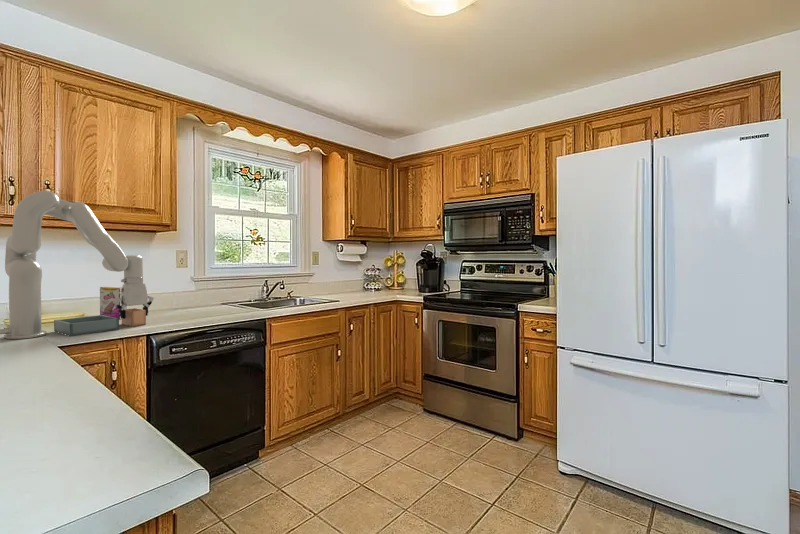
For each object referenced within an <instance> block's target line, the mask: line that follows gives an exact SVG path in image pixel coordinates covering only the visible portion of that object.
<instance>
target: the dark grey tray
mask: <svg viewBox="0 0 800 534" xmlns="http://www.w3.org/2000/svg"><path fill="white" fill-rule="evenodd" d="M53 325H54V327H53V332H54V331H55V332H54V333H57V332H59V333H58V334H60V333H63V334H62V335H64V334H66V335H65V336H67V335H69V336H68V337H75V336H76V337H77V336H82V334H83V335H89V334H97V333H98V334H99V333H104V332H105V333H106V332H110V331H111V332H112V331H119V330H120V320H119V318H114V317H109V316H105V315H100V314H98V315H91V316H80V317H72V318H62V319H61V318H60V319H54V320H53Z"/></svg>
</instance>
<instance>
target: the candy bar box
mask: <svg viewBox="0 0 800 534" xmlns="http://www.w3.org/2000/svg"><path fill="white" fill-rule="evenodd" d="M121 291H122V286H111V285H109V286H100V287H99V315H105V316H109V317H114V318H119V321H121V320H122V318H121V317H120V310H119V309H118V308H117V307H116V306H115V304H114V303H113V301H115V300H117V299H118V298H120V297H121ZM118 304H119V305H120V306H121V305H122V304H121V301H120V302H119V303H118ZM125 309H128V308H127V307H126V308H125Z"/></svg>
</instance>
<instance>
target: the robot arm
mask: <svg viewBox="0 0 800 534" xmlns="http://www.w3.org/2000/svg"><path fill="white" fill-rule="evenodd" d="M45 215H47V216H50V217H53V218H56V219H60V220H63V221H67V222H72V224H73V226H74V227H75V228H76V229H77V230H78V232H79V234H80V235H81V236H82V238H83V239H84V241H86V242H87V243H88V244H89V245H91V246H93V248H94V249H96V250H97V251H98V252H99V253H100V254H101V256H102V257H103V259H102V262H101V263H102V266H103V268H104V269H105V270H107V271H110V272H123V279H122V278H121V279H120V282H121V283H123V284H122V286H121V287H122V291H121V297H120V298H118V299H117V300H115V301H113V303H114V304H115V306H116V307H117V308H118V309H119V310H120V317H121V318H123V319H125V318H126V310H124V309H125V308H127V307H129V306H133V307H134V306H140V305H142V306H143V307H142V310H146V317H148V315H149V307H150V306H151V305H152V303H153V301H154V297H152V296H150V295H148V290H147V286H146V283H144V270H143V269H144V267H143V266H144V261H143V256H141V255H137V254H135V255H133V254H132V255H129V254H128V255H125V253H124V251H123V250H122V249H121V247H120V246H119V244H118V243H116V241H115V240H114V239H113V238H112V237H111V235H110V234H109V233H107V231H106V230H105V228H104V227H103V226H102V224H101V223H100V221H99V220H98V218H97V217H96V214H94V212H93V211H92V209H91V208H90V207H89V206H88V205H87V204H86V203H84V202H82V201H81V202H79V201H75V202H71V201H68V200H65V199H61V198H59V196H58V195H57V194H56V193H55V192H53V191H51V190H39V191H35V192H32V193H30V194H28V195H26V196H25V197H23V198H22V200H20V201H19V202H18V205H17V206H16V207H15V209H14V214H13V218H12V219H13V221H12V229H11V230H12V232H11V234H10V235H9V236H8V237H7V239H6V243H5V254H4V255H5V257H4V258H5V259H4V262H5V263H4V270H5V271H4V272H5V273H6V274H7V276H8V279H9V280H8V309H9V310H8V311H9V312H8V314H9V315H8V316H9V321H8V322H9V325H6V327H4V328H0V335H4V337H3V338H4V339H7V340H20V339H21V340H22V339H24V340H25V339H30V338H31V339H33V338H38V337H42V336H43V337H44V336H46V335H47V331H46V330H43V329H42V278H43V270H42V266H41V265H40V264H39V262H38V261H37V252H39V250H40V248H41V246H42V223H43V218H44V216H45ZM120 301H121V304H122V305H121V306H120V305H119V304H118V303H119V302H120Z"/></svg>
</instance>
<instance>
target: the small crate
mask: <svg viewBox="0 0 800 534" xmlns="http://www.w3.org/2000/svg"><path fill="white" fill-rule="evenodd" d="M124 310H126V318H125V319H123V318H122V319H121V325H123V324H124V325H123V326H128V325H129V327H138V325H140V326H145V325H147V322H146V321H147V320H146V319H147V318H146V317H147V316H146V310H143V308H142V309H141V308H136V307H135V308H133V307H132V308H127V309H124Z"/></svg>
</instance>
